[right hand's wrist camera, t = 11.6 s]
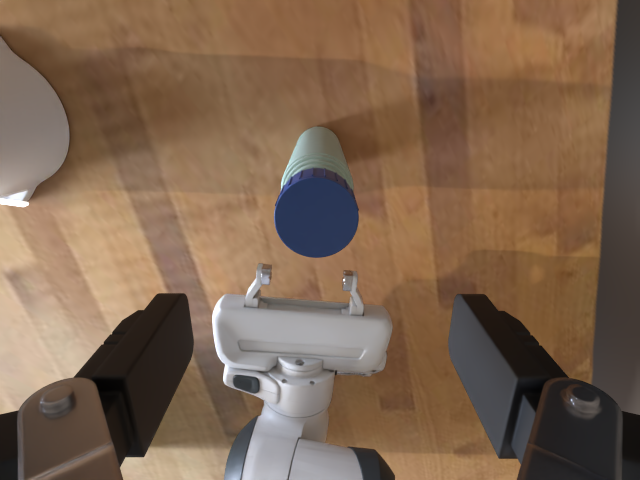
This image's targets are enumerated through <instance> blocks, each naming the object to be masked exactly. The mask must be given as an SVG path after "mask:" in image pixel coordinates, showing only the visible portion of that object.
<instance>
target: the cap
mask: <svg viewBox="0 0 640 480" xmlns="http://www.w3.org/2000/svg"><path fill="white" fill-rule="evenodd" d="M275 206H276V208H275V213H274V221H275V227H276V230H277V233H278V235H279V237H280V238H281V240H282V241H283V242H284V244H285V245H286V246H287V247H289V248H290V249H291V250H293V251H294V252H296V253H298V254H300V255H303V256H307V257H314V258H319V257H326V256H330V255H333V254H335V253H337V252H339V251H341V250H342V249H343V248H345V247H346V246H347V245H348V244H349V242H350V241H351V240H352V238H353V237H354V235H355V233H356V230H357V227H358V221H359V215H358V211H359V209H358V206H357V203H356V200H355V196H354V193H353V190H352V189H351V188H350V186H349V185H348V183H347V182H346V179H345V180H344V179H343V178H342V177H341V176H340V175H338V174H337V172H333V171H330V170H327V169H326V168H324V169H323V168H314V167H312V168H311V169H306V170H303V171H302V170H301V171H300V172H298V173H297V174H295V175H294V176H291V177H290V179H289V180H288V181H287V183H286V184H285V185H283V187H282V190H281V193H280V195H279V196H278V199H277V202H276V204H275Z"/></svg>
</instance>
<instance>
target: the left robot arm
mask: <svg viewBox="0 0 640 480" xmlns="http://www.w3.org/2000/svg"><path fill="white" fill-rule="evenodd" d="M69 139H70V134H69V125H68V120H67V116H66V113H65V110H64V108H63V105H62V103H61V101H60V99H59V97H58V96H57V94H56V92H55V91H54V89H53V88H52V87H51V85H50V84H49V83H48V82H47V80H46V79H45V78H44V77H43V76H42V75H41V74H40V73H39V72H38V71H37V70H36V69H34V68H33V67H32V66H31V65H29V64H28V63H26V62H25V61H24V60H22V59H21V58H19V57H18V56H17V55H16V54H15V53H13V52H12V51H11V50H10V48H9V47H8V45H7V44H6V43H5V41H4V40H3V39H2V37H1V36H0V204H6V205H13V206H20V207H25V206H27V205H28V202H27V201H28V200H29V199H30V198H31V196H32V194H33V193H34V191H35V189H36V187H37V186H38V185H39V184H40V183H41V182H43V181H44V180H46V179H48V178H49V177H51V176H52V175H53V174H54V173H56V172H57V170H58V169H59V168H60V167H61V165H62V164H63V162H64V160H65V158H66V155H67V152H68V148H69ZM271 270H272V265H270V264H258V267H257V274H256V279H255V281H254V282H253V283H252V285H251V286H250V287H249V289H248V292H247V295H238V294H225V295H224V296H223V297H222V298H221V299H220V300H219V301H218V302H217V304H216V306H215V309H214V312H213V333H214V340H215V346H216V351H217V354H218V356H219V358H220V360H221V361H222V362H223V363H224V364H225V369H224V376H223V381H224V383H225V385H227V386H229V387H231V388H234V389H237V390H240V391H243V392H246V393H249V394H251V395H254V396H256V397H258V398H261V399H263V400H264V406H263V409H262V413H261V415H260V416H256V417H255V418H253V419H252V420H251V421H250V422H249V423H248V424H247V425H246V426H245V427H244V428H243V429H242V430H241V431H240V433H239V434H238V435H237V437H236V439H235V441H234V443H233V445H232V447H231V450H230V453H229V456H228V459H227V464H226V469H225V476H224V480H395V475H394V473H393V472H392V470H391V469H390V467H389V466H388V464H387V463H386V462H385V460H384V459H383V458H382V457H381V456H380V455H379V454H378V452H377V451H376V450H374V449H366V448H357V447H343V446H338V445H333V444H328V443H325V442H326V437H327V431H328V424H329V414H328V407H329V405H330V403H331V399H332V394H333V386H334V378H335V375H361V376H363V377H369V376H372V374H374V373H378V372H380V371H382V370H383V369H384V368H385V365H386V360H387V351H386V350H387V347H388V344H389V341H390V337H391V334H392V328H393V326H392V320H391V317H390V315H389V313H388V311H387V310H386V309H385V307H384V306H381V305H368V304H363V299H362V296H361V294H360V292H359V290H358V288H357V281H358V275H357V271H346V270H344V271H343V279H342V286H343V290H344V291H350V292H351V295H352V296H351V297H350V301H349V303H342V302H329V301H316V300H303V299H290V298H277V297H264V296H261V290H260V289H259V288H260V287H261V285H262V284H265V285H270V280H271V275H272V272H271Z"/></svg>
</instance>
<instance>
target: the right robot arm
mask: <svg viewBox="0 0 640 480" xmlns="http://www.w3.org/2000/svg"><path fill="white" fill-rule="evenodd" d="M193 345H194V340H193V332H192V325H191V318H190V311H189V304H188V299H187V296H186V295H185V294H184V293H159V294H157V295H156V296H155V297H154V298H153V300H152V301H151V302H150V303H149V305H148V306H147V307H146V308H145V310H138V311H136V312H135V313H133V314H132V315H130V316H129V317H127V318H125V319H124V320H122V321H121V323H120V324H119V325H118V326H117V327H116V328H115V330H114V331H113V332H112V335H109V337H108V338H107V339H106V340H105V341H104V345H101V346H100V347H99V348H98V350H97V351H96V352H95V353H94V354H93V355H92V357H91V358H90V359H89V360H88V361H87V362H86V364H85V365H84V366H83V367H82V368H81V369H80V371H79V372H78V373H77V374H76V375H75V376H74V378H68V379H64V380H60V381H57V382H54V383H52V384H49V385H47V386H45V387H43V388H42V389H40V390H38V391H37V392H35V393H34V394H32V395H31V396H30V397H29V398H28V399H27V400H26V401H25V402H24V403H23V404H22V406H21V407H20V409H19V410H18V411H14V412H10V413H5V414H1V415H0V480H123V477H122V474H121V470H120V466H121V464H122V463H123V461H124V459H125V457H144V456H145V454H146V452H147V450H148V448H149V446H150V444H151V441H152V439H153V437H154V435H155V433H156V431H157V429H158V427H159V425H160V423H161V421H162V418H163V416H164V414H165V412H166V410H167V408H168V406H169V404H170V402H171V400H172V398H173V395H174V393H175V391H176V389H177V387H178V385H179V383H180V381H181V379H182V377H183V375H184V372H185V370H186V368H187V366H188V364H189V362H190V360H191V357H192V353H193ZM448 346H449V354H450V358H451V361H452V363H453V365H454V367H455V369H456V371H457V373H458V375H459V377H460V379H461V381H462V383H463V385H464V388H465V390H466V392H467V394H468V396H469V398H470V400H471V402H472V404H473V406H474V408H475V410H476V412H477V414H478V416H479V419H480V421H481V423H482V425H483V427H484V429H485V431H486V433H487V435H488V437H489V439H490V441H491V443H492V445H493V447H494V449H495V452H496V454H497V456H498V458H499V459H518V460H519V462H520V464H521V467H520V470H519V474H518V477H517V480H640V415H636V414H632V413H628V412H624V411H621V409H620V407H619V406H618V404H617V403H616V402H615V401H614V400H613V399H612V398H611V397H610V396H609V395H608V394H606V393H605V392H603V391H602V390H600V389H598V388H597V387H595V386H593V385H591V384H588V383H586V382H583V381H580V380H576V379H572V378H569V377H568V376H567V375H566V374H565V373H564V371H563V370H562V369H561V368H560V367H559V366H558V365H557V363H556V362H555V361H554V360H553V359H552V358H551V356H550V355H549V354H548V353H547V352H546V351H545V349H544V348H543V347H542V346H539V343H538V341H537V340H536V339H535V338H534V337H533V336H532V335H530V332H529V331H528V330H527V329H526V327H525V326H524V325H523V324H522V323H521V322H520V321H519V320H517V319H516V318H514V317H513V316H511V315H510V314H508V313H506V312H505V311H498V310H497V309H496V307H495V306H494V305H493V304H492V302H491V301H490V300H489V299H488V297H487V296H486V295H484V294H457V295H456V297H455V300H454V305H453V312H452V319H451V325H450V332H449V340H448Z"/></svg>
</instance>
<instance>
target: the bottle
mask: <svg viewBox="0 0 640 480" xmlns="http://www.w3.org/2000/svg"><path fill="white" fill-rule="evenodd" d="M312 167H314V168H323V169H324V168H326V169H327V170H330V171H333V172H337V174H338V175H340V176H341V177H342V178H343V179H344V180H345V179H346V182H347V183H348V185H349V186H350V188H351V189H352V190H353V180H352V176H351V174H350V171H349V168H348V165H347V162H346V159H345V157H344V154H343V151H342V148H341V145H340V143H339V140H338V138H337V136H336V135H335V134H334V133H333V132H332V131H331V130H329V129H327V128H325V127H312V128H309V129H307V130H306V131H305V132H303V134H302V135H301V136H300V138H299V140H298V142H297V144H296V147H295V149H294V151H293V154H292V156H291V158H290V161H289V163H288V166H287V168H286V170H285V173H284V175H283V178H282V182H281V190H282V187H283V185H285V184H286V183H287V181H288V180H289V179H290V177H291V176H294V175H295V174H297V173H298V172H300V171H301V170H302V171H303V170H306V169H311V168H312Z"/></svg>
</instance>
